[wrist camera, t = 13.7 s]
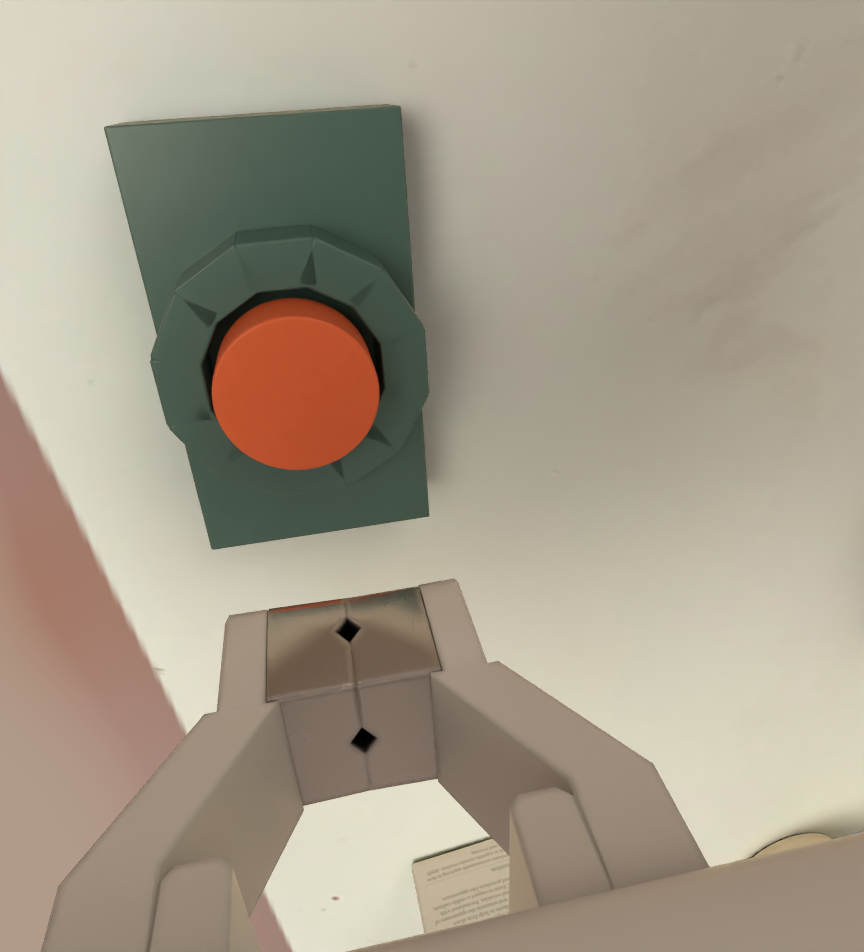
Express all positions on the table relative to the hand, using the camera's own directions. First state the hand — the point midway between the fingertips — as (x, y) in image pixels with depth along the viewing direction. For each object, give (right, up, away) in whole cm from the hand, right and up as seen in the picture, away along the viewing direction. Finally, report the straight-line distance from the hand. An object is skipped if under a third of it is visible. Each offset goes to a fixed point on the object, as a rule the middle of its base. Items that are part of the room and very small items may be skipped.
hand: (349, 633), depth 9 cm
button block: (-3, +7, +12) cm, 14 cm away
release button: (-2, +5, +9) cm, 11 cm away
